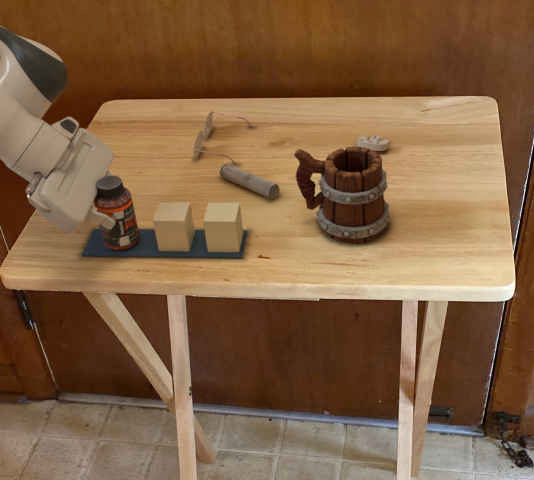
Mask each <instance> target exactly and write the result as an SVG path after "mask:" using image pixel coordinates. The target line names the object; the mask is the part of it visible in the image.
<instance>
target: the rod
mask: <svg viewBox="0 0 534 480" xmlns="http://www.w3.org/2000/svg"><path fill="white" fill-rule="evenodd" d="M219 176H221V178H222V179H225V180H227V181H230V182H232V183H234V184H236V185H239V186H241V187H243V188H246V189H248V190H251V191H253V192H255V193H256V194H259V195H262V196H263V197H266V198H269V199H271V200H274V199H276V198H277V197H278V195H279V194H280V186H279V184H278V183H275V182H273V181H270V180H268V179H266V178H263V177H261V176H259V175H256V174H253V173H251V172H249V171H246V170H245V169H241V168H240V167H237V166H234V165H232V164H230V163H225V164H223V165H222V166H221V168H220V170H219Z"/></svg>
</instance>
